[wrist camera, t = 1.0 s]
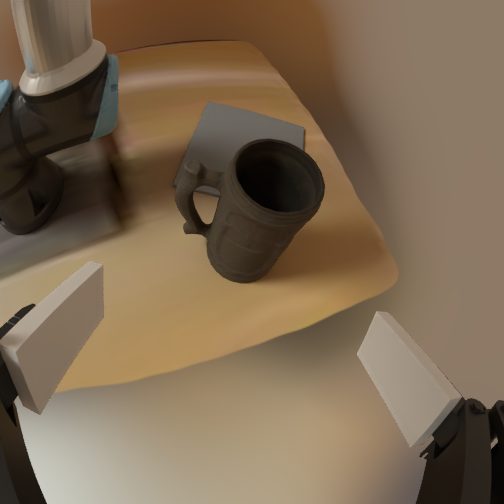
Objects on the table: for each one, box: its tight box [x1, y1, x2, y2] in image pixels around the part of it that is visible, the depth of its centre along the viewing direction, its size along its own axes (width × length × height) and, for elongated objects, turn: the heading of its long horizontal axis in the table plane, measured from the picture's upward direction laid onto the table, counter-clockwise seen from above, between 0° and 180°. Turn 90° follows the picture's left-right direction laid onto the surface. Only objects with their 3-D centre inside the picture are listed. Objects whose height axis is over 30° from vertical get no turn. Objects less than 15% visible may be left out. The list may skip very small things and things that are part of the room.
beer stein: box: [175, 138, 325, 283], centre depth 34 cm, size 15×11×20 cm
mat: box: [173, 102, 304, 197], centre depth 51 cm, size 24×22×1 cm
